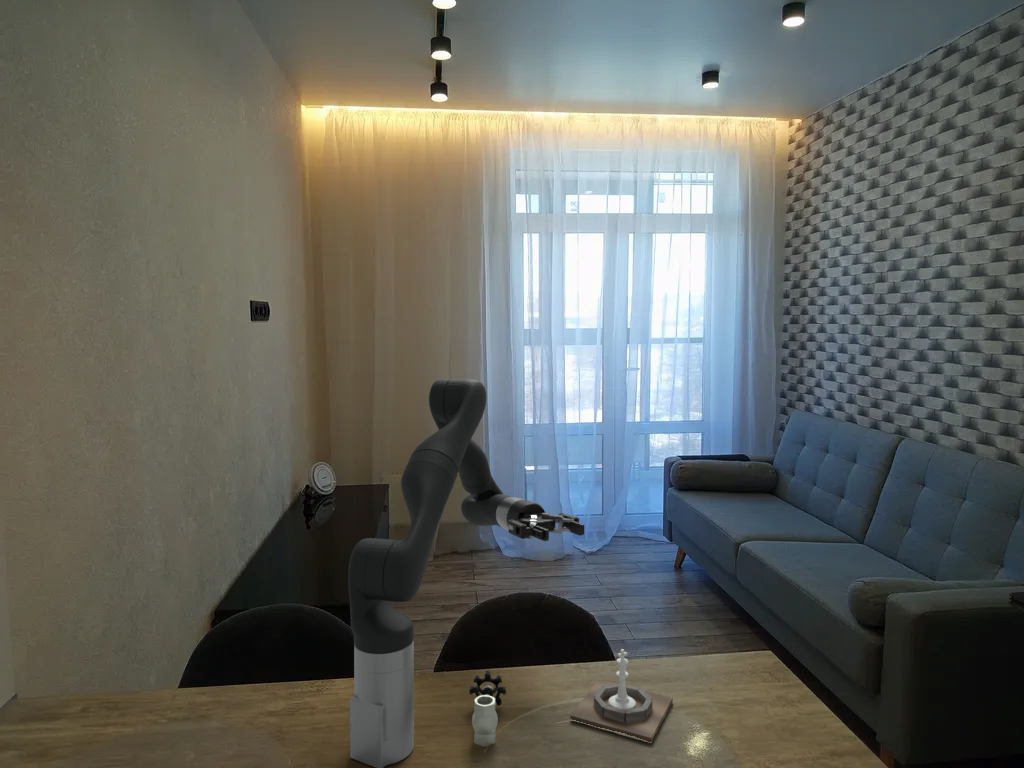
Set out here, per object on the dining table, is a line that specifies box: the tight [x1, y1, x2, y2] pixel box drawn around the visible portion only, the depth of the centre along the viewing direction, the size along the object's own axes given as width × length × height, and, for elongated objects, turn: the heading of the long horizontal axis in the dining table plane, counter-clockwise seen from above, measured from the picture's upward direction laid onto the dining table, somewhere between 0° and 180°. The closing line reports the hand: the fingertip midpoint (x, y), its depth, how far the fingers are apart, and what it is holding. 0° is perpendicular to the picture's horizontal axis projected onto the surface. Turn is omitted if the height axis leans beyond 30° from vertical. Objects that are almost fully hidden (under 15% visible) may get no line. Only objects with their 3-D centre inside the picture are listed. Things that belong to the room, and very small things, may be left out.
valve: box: [468, 670, 508, 748], centre depth 107 cm, size 7×7×12 cm
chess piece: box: [608, 648, 636, 710], centre depth 111 cm, size 5×5×10 cm
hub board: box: [569, 679, 674, 743], centre depth 111 cm, size 14×14×2 cm
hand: (565, 532), depth 123 cm, fingers open, 8 cm apart
